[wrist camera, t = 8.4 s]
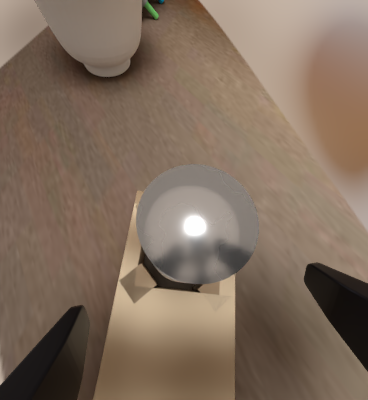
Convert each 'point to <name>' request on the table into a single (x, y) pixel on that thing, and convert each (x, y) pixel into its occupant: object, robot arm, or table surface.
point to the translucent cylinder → (197, 224)
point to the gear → (150, 9)
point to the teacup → (96, 31)
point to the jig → (167, 336)
